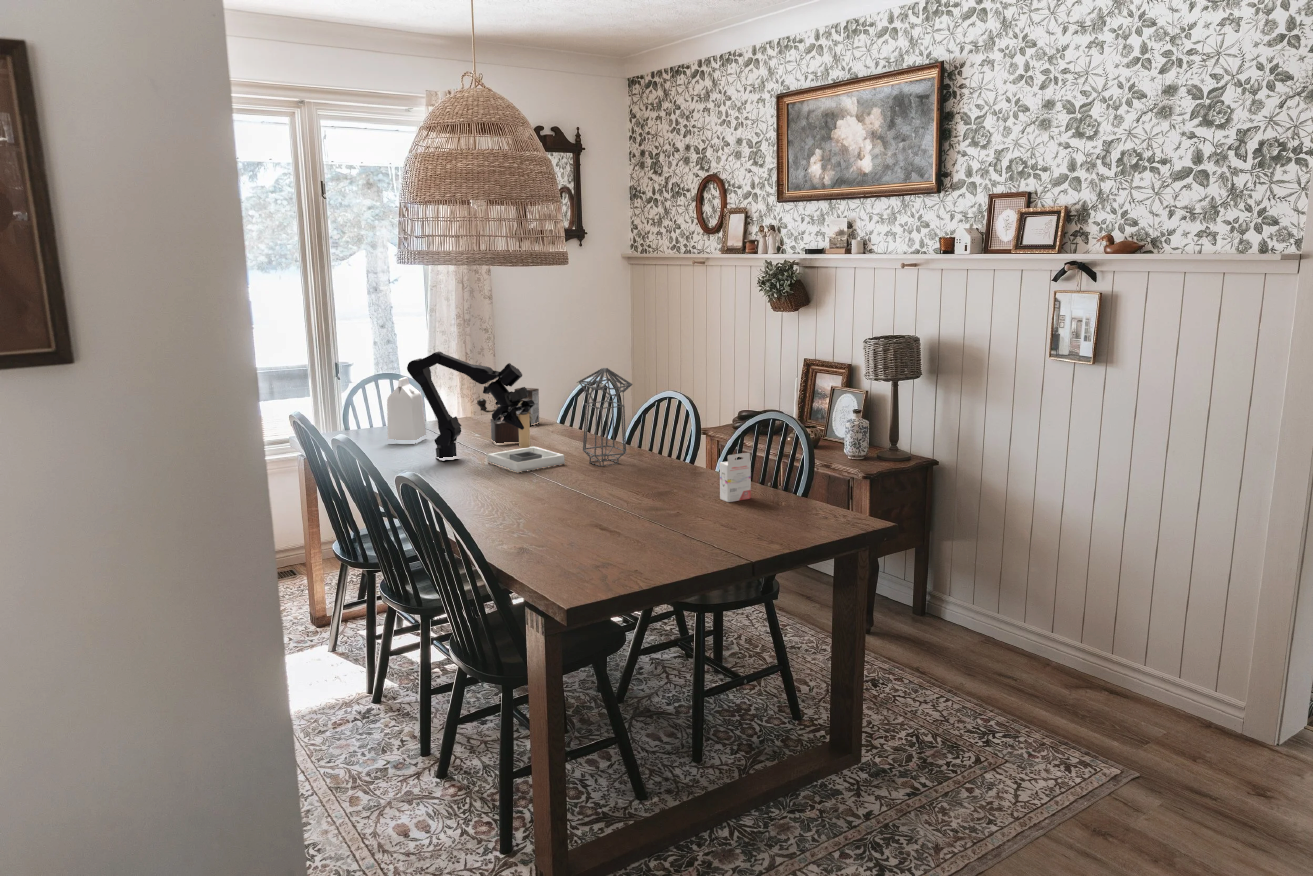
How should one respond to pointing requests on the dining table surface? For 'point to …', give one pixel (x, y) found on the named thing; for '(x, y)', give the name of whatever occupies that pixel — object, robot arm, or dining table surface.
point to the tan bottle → (524, 430)
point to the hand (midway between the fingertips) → (527, 427)
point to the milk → (405, 412)
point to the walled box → (526, 458)
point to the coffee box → (535, 409)
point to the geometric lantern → (628, 384)
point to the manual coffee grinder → (500, 427)
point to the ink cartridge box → (735, 478)
